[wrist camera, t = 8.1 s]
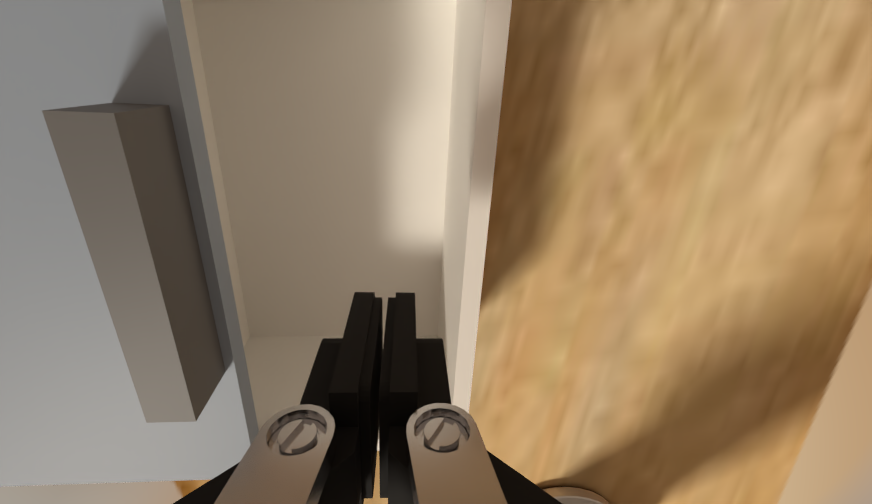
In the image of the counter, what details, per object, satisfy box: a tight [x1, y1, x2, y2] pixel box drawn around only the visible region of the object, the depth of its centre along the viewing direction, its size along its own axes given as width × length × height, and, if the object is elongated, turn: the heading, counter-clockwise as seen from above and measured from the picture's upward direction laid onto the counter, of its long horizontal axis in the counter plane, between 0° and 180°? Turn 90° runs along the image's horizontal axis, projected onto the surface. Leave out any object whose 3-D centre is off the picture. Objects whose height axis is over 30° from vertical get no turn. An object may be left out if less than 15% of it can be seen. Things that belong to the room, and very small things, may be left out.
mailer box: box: [180, 0, 512, 451], centre depth 19 cm, size 14×22×9 cm, turn 177°
